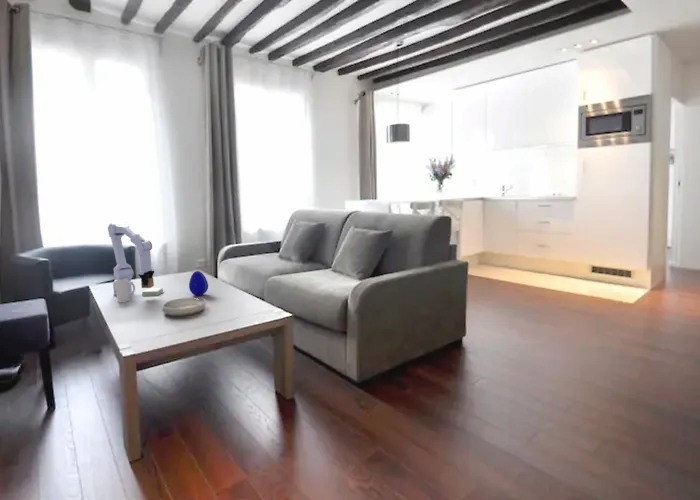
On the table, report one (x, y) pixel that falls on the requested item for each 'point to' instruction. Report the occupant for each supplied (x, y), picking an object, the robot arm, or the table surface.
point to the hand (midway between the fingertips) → (147, 284)
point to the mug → (123, 290)
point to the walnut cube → (150, 283)
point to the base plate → (152, 291)
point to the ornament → (198, 283)
